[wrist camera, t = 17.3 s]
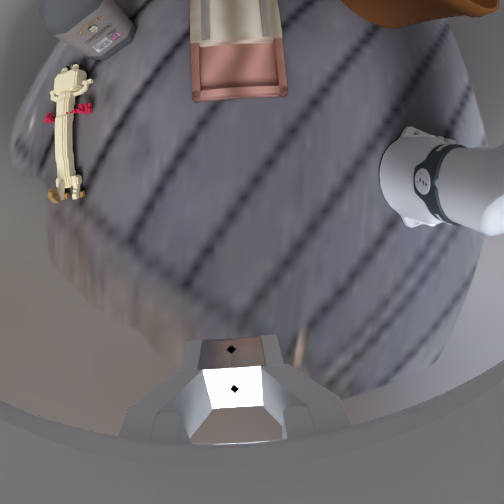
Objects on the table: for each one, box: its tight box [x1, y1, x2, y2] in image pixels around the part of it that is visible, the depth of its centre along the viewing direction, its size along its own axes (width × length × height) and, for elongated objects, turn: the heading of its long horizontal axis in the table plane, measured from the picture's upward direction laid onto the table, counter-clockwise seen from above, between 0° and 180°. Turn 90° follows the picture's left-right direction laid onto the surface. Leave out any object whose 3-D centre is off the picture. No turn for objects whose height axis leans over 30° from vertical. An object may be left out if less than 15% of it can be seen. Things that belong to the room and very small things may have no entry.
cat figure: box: [44, 62, 93, 203], centre depth 32 cm, size 10×9×25 cm
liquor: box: [40, 0, 136, 60], centre depth 17 cm, size 9×9×30 cm
